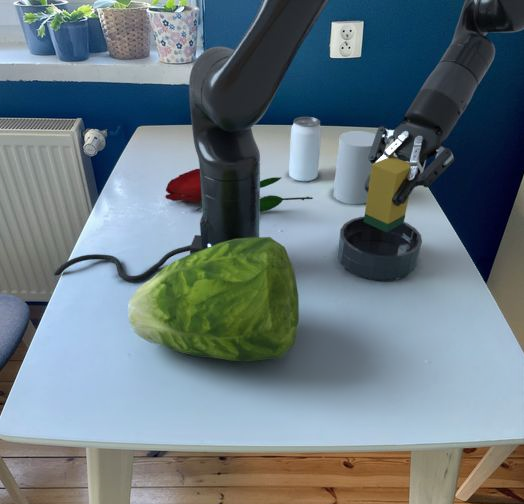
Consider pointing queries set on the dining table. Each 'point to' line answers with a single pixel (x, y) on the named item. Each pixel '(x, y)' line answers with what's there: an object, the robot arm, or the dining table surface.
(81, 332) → the dining table surface
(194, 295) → the lettuce
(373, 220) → the sponge
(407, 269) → the bowl
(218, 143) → the robot arm
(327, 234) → the dining table surface
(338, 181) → the light grey cylinder
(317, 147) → the can
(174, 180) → the flower
